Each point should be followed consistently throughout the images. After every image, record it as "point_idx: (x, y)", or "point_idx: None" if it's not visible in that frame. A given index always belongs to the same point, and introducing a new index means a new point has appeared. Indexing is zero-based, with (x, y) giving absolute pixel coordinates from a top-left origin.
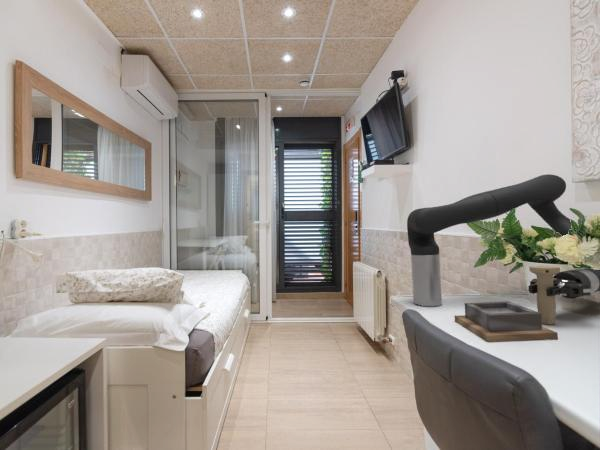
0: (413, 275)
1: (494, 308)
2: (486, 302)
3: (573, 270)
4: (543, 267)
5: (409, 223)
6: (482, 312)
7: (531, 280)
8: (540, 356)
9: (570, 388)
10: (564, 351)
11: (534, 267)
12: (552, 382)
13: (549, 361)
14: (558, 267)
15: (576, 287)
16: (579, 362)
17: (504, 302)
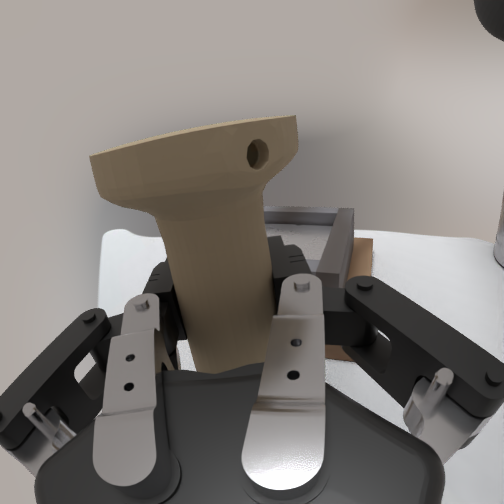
0: None
1: (320, 250)
2: (345, 232)
3: None
4: (190, 129)
5: None
6: (269, 207)
7: (425, 310)
8: (158, 260)
9: (117, 241)
10: (136, 290)
11: (231, 121)
12: (131, 238)
13: (144, 259)
14: (98, 153)
15: (57, 345)
16: (114, 278)
17: (326, 258)
